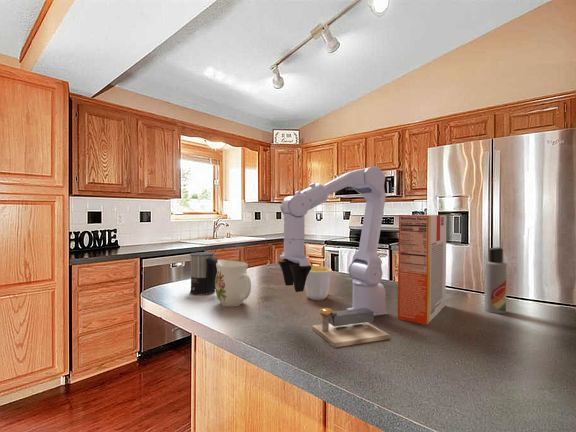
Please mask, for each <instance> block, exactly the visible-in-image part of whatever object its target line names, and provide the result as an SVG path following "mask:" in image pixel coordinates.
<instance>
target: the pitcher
mask: <svg viewBox="0 0 576 432" xmlns="http://www.w3.org/2000/svg"><path fill="white" fill-rule="evenodd" d="M216 267H217V274H216V278H215V294H216V296H217V300H218V301H219V303H220V304H221V306H223V305H224V307H237V306H236V305H238V306H240V304H241V305H242V304H243V302H244V301H245V300H248V298H249V297H250V295H251V291H252V290H251V289H252V281H251V278H250V276H249V275H248V273H247V269H248V263H247V262H245V261H244V262H243V261H237V260H229V259H219V260H217V263H216Z"/></svg>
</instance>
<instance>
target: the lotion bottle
mask: <svg viewBox="0 0 576 432" xmlns="http://www.w3.org/2000/svg"><path fill="white" fill-rule="evenodd" d="M483 300H484V301H483V302H484V305H483V307H484V310H485V311H486V312H488V311H489V313H492V312H493V313H492V314H505V313H506V311H507V263H505V262H504V249H503V248H502V247H489V248H488V261H486V262H484V299H483Z"/></svg>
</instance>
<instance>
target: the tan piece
mask: <svg viewBox="0 0 576 432" xmlns="http://www.w3.org/2000/svg"><path fill="white" fill-rule="evenodd" d="M321 316H322V317H321V319H322V320H321V321H322V322H321V323H322V324H314V325H312V330H313V331H314V332H315V333H316V334H317V335H318V336H320V337H321V338H322V339H324V341H325V342H327V343H329V344H330V345H331V346H332V347H333V348H340V347H341V348H342V347H347V346H351V345H352V346H353V345H358V344H364V343H371V342H377V341H383V340H389V339H390V334H389V333H387V332H385V331H384V330H382V329H379V328H378V327H376V326H375V325H372V324H371V323H370V322H364V323H357V324H349V325H341V326H333V325H331V324H330V323H329V315H328V316H325V315H321Z"/></svg>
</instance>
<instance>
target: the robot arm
mask: <svg viewBox="0 0 576 432" xmlns="http://www.w3.org/2000/svg"><path fill="white" fill-rule="evenodd" d="M385 182H386V175H385V173H383V171H382V169H380V168H379V166H375V165H373V166H369V167H364V168H359V169H353V170H350V171H348V172H345V173H343V174H341V175H340V176H338V177H336V178H334V179H332V180H330V181H328V182H327V183H325V184H321V183H318V182H317V183H315V182H311V183H310V184H308V187H307V188H305V189H303V190H297V191H295V195H289V196H286V197H285V198H283V200H282V202H281V205H280V206H279V209H280V211H281V213H282V214H283V251H282V252H281V254H279V258H280V259H282V260H278V261H277V262H278V265H279V266H280V269H281V272H282V275H283V280H284V284H285V287H286V286H294V291H295V292H296V293H299V292H304V290H305V282H306V279H307V276H308V273H309V272H310V270H311V267H312V265H309V257H307V256H306V254H305V241H306V240H305V238H306V237H305V235H306V233H305V228H306V227H305V216H306V215H307V214H308V211H310V210H312V209H315V208H316V207H318V206H319V205H321V204H324V203H325V202H327V200H328V198H329V196H330V195H331V194H333V193H336V192H339V191H341V190H343V189H345V188H347V187H351V188H352V189H353V190H355V191H356V192H357V193H358V194H359V195H361V196H362V197H363V199H364V200H365V202H366V203H365V209H364V215H363V222H362V226H361V232H360V233H361V234H360V240H359V244H358V245H359V246H358V250H357V251H356V252H355V253H354V254H353V256H352V259H351V262H350V263H349V265H348V268H347V269H348V270H347V272H348V275H349V277H350V278H351V282H352V307H348V308H346V310H351V309H360V308H367V309H369V310H371V311H373V312H374V317H375V316H381V315H387V314H388V312H387V311H386V305H387V304H386V299H387V297H386V295H387V294H386V289H385V287H384V284H382V283H381V281H382V279H383V269H382V268H383V267H382V264H383V261H382V259H381V257H380V256H379V254H378V246H379V241H380V236H381V230H382V223H383V216H384V211H385V210H384V209H385V204H386V197H387V196H386V191H385V190H386V189H385Z"/></svg>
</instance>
